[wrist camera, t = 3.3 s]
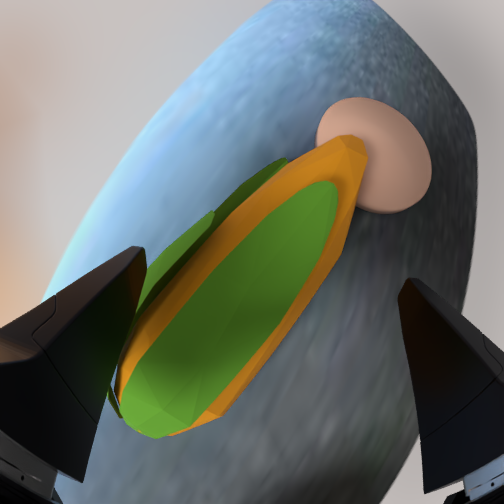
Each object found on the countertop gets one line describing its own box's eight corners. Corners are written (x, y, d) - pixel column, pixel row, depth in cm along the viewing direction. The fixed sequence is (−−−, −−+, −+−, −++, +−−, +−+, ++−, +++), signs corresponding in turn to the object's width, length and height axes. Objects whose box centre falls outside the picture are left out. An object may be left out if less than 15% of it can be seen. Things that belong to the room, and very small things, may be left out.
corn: (34, 391, 9) (324, 53, 12) (98, 358, 16) (290, 126, 20) (179, 502, 9) (439, 149, 12) (191, 431, 16) (373, 193, 20)
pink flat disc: (434, 214, 19) (443, 209, 18) (324, 215, 19) (330, 209, 17) (406, 113, 21) (412, 105, 20) (305, 102, 20) (308, 92, 19)
